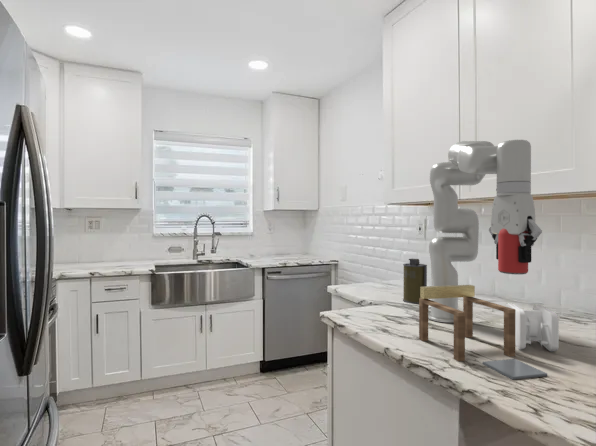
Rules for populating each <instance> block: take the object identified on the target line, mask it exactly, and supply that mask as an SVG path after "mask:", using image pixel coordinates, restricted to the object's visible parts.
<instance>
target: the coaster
mask: <svg viewBox="0 0 596 446" xmlns="http://www.w3.org/2000/svg"><path fill="white" fill-rule="evenodd" d="M481 364H482V365H483V366H485V367H487V368H490V369H491V370H492V371H495V372H497V373H499V374H501V375H502V376H505V377H506V378H509V379H510V380H511V381H512V380H521V379H530V378H540V377H547V376H548V373H547V372H545V371H543V370H541V369H539V368H536V367H534V366H532V365H530V364H527V363H525V362H523V361H522V360H521V361H520V360H518V359H516V358H508V359H507V358H505V359H497V360H487V361H486V360H485V361H482V363H481Z"/></svg>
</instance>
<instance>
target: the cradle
mask: <svg viewBox="0 0 596 446" xmlns="http://www.w3.org/2000/svg"><path fill="white" fill-rule="evenodd" d="M462 299H463V300H462V301H463V302H462V303H463V304H462V305H463V307H462V308H463V310H459V309H458V310H457V309H454V308H451V307H449V306H446V305H443V304H440V303H437V302H435V301H432V299H422V298H419V303H418V339H419V340H420V341H422V342H428V341H429V318H428V313H429V308H428V306H429V305H430V306H432V307H435V308H438V309H440V310H443V311H445V312H448V313H451V314H453V315H454V323H453V360H455V361H457V362H465V361H466V360H465V359H466V338H468V339H469V338H474V336H473V335H474V334H473V332H474V328H473V326H474V325H473V324H474V311H473V310H474V305H473V304H474V303H475V304H477V305H481V306H484V307H487V308H491V309H494V310H498V311H501V312H503V355H504V356H507V357H516V345H515V309H512V308H509V307H506V305H502V304H497V303H495V302H491V301H487V300H485V299H480V298H477V297H462Z"/></svg>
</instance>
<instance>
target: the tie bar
mask: <svg viewBox="0 0 596 446" xmlns="http://www.w3.org/2000/svg"><path fill="white" fill-rule="evenodd" d="M475 287H476V286H475V285H473V284H458V285H451V286H432V285H431V286H430V285H429V286H426V287H420V298H422V299H429V300H432V299H438V298H458V299H459V298H463V297H474V298H476V296H475V293H476V292H475Z"/></svg>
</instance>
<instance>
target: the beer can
mask: <svg viewBox="0 0 596 446" xmlns="http://www.w3.org/2000/svg"><path fill="white" fill-rule="evenodd" d="M522 233H526V231H524V232H522ZM524 238H525V239H526V237H524ZM519 246H521V244H520V241H519V239H518V235H511V234H509V233H508V231H507V230H506V229H504V228H503V229H501V230H500V232H499V234H498V260H497V269H498V270H497V271H498V272H500V273H502V274H507V275H527V274H528V273H529V263H520V262H519V261H518V248H519Z"/></svg>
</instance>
